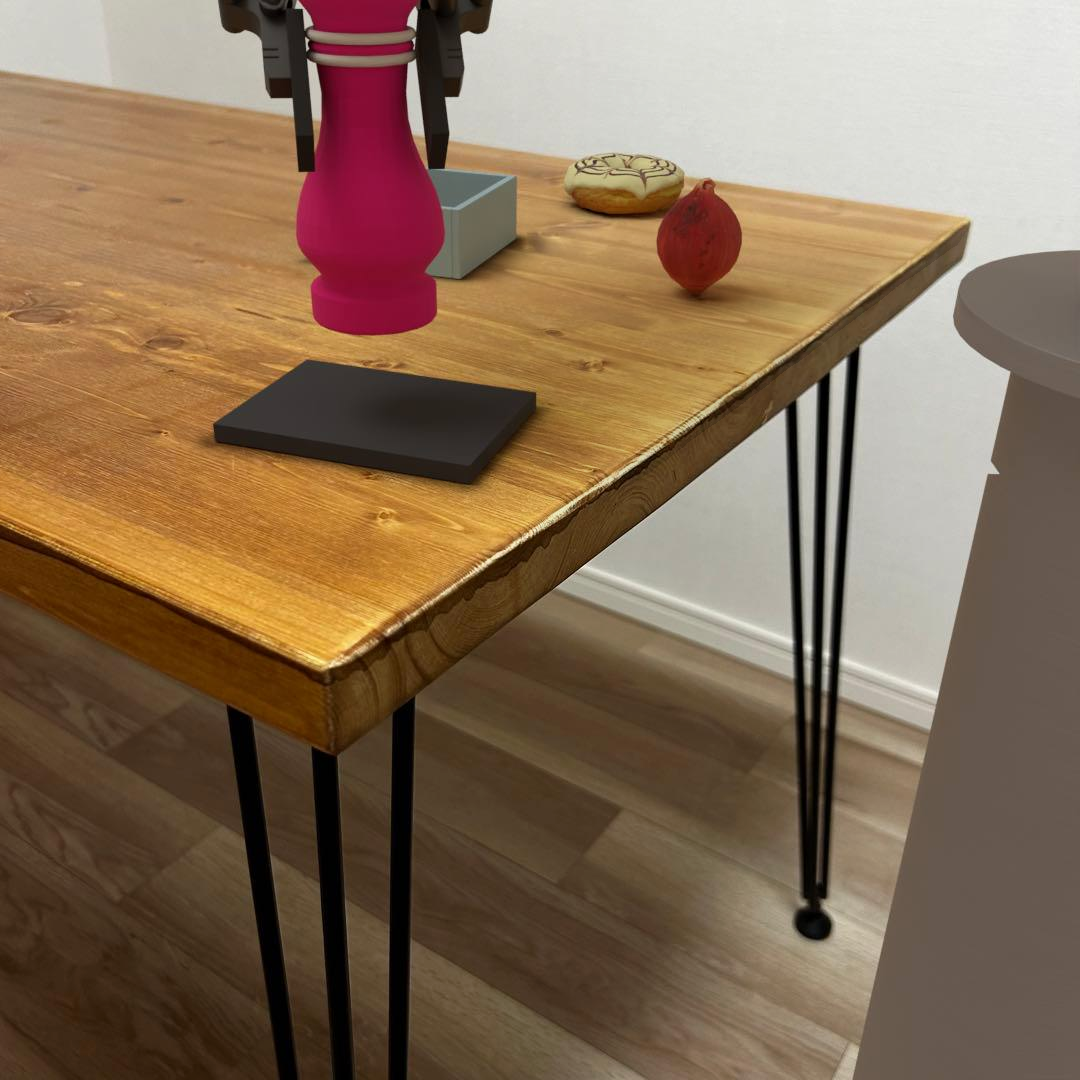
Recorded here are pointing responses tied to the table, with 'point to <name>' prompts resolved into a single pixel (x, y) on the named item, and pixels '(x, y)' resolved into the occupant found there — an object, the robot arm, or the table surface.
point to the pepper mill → (367, 175)
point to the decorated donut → (624, 183)
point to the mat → (380, 420)
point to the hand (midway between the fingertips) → (373, 152)
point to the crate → (473, 218)
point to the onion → (699, 239)
